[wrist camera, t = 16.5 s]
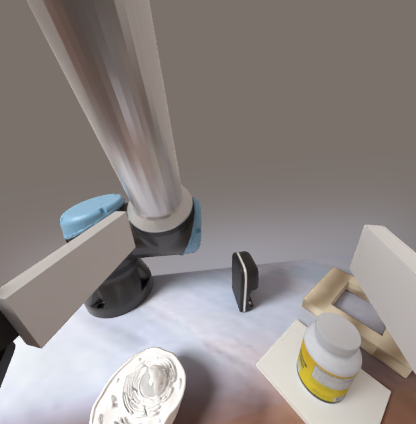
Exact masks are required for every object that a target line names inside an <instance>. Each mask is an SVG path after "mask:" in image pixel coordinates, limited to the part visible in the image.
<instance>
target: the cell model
mask: <svg viewBox="0 0 416 424" xmlns="http://www.w3.org/2000/svg"><path fill="white" fill-rule="evenodd" d="M185 387H186V373H185V370H184V367H183V366H182V364H181V362H180V361H179V359H178V358H177V357H176V355H175V354H173V353H172V352H169V351H166V350H163V349H161V348H159V347H151V348H148V349H146V350H144V351H142V352H140V353H138V354H135V355H134V356H132V357H131V358H130V359H128V360H127V361H126V362H125V363H124V364H123V365H122V366H121V367H120V368H119V369H118V370H117V371H116V372H115V373H114V374H113V375H112V377H111V378H110V379H109V381H108V382H107V384H106V385H105V387H104V389H103V390H102V392H101V394H100V395H99V397H98V399H97V400H96V402H95V403H94V405H93V408H92V411H91V416H90V423H89V424H172V423H173V421H174V419H175V417H176V415H177V413H178V410H179V407H180V404H181V400H182V398H183V395H184V391H185Z"/></svg>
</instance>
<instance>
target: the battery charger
mask: <svg viewBox="0 0 416 424" xmlns="http://www.w3.org/2000/svg"><path fill="white" fill-rule="evenodd" d="M257 288H258V268H257V266H256V264H255V262H254V261H253V259H252V257H251V255H250V254H249V253H248V252H246V251H245V252H236V253H233V256H232V289H233V292H234V295H235V298H236V301H237V304H238V307H239V310H240V312H245V311H249V310H251V309H252V308H253V303H252V301H251V298H250V296H249V294H250V293H251V292H252V290H256V289H257Z"/></svg>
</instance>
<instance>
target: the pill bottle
mask: <svg viewBox="0 0 416 424" xmlns="http://www.w3.org/2000/svg"><path fill="white" fill-rule="evenodd" d="M360 345H361V336H360V334H359V332H358V330H357V328H356V327H355V326H354V325H353V324H352V323H351V322H350V321H348V320H347V319H346V318H344V317H342V316H340V315H338V314H335V313H329V312H326V313H322V314H320V315H319V316H318V318H317V320H316V322H313V323H311V324H310V325H309V326H308V327H307V328H306V330H305V333H304V337H303V341H302V344H301V348H300V352H299V355H298V359H297V373H298V376H299V379H300V381H301V383H302V385H303V386H304V387H305V389H306V390H307V391H308V392H309V393H310V394H311V395H312V396H313V397H314V398H316V399H317V400H319V401H321V402H324V403H327V404H336V403H339V402H340V401H342V400H343V398H344V397H345V395H346V393H347V391H348V390H349V388H350V386H351V384H352V383H353V381H354V379H355V378H356V376H357V374H358V373H359V371H360V369H361V366H362V355H361V351H360V349H359V347H360Z"/></svg>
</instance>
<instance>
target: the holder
mask: <svg viewBox="0 0 416 424" xmlns="http://www.w3.org/2000/svg"><path fill="white" fill-rule="evenodd" d="M345 289H346V290H348V291H349V292H351V293H353V294H355V295H357V296H359V297H361V298H362V299H364V300H366V301H368V302H370V301H369V299H368V298H367V296H366V295H365V293H364V291H363V290H362V288H361V287H360V285H359V284H358V282H357V280H356V279H355V277H354V276H352V275H350V274H348V273H346V272H344V271H342V270H340V269H338V268H336V267H333V268H332V269H331V270H330V271H329V272H328V273H327V274H326V275H325V276H324V277H323V278H322V279H321V280H320V281H319V283H318V284H317V285H316V286H315V287H314V288H313V289H312V290H311V291H310V292H309V293H308V294H307V295H306V296H305V297H304V299H303V303H302V306H303V307H304V308H306V309H307V310H308V311H310V312H311V313H313V314H314V315H316V316H317V317H318V316H319V315H320V314H322V313H326V312H329V313H335V314H338V315H340V316H342V317H344V318H346V319H347V320H348V321H350V322H351V323H352V324H353V325H354V326H355V327H356V328H357V330H358V332H359V334H360V336H361V345H360V347H361V348H363V349H364V350H365V351H367V352H368V353H370V354H371V355H373V356H374V357H375V358H377V359H378V360H380V361H381V362H383V363H384V364H385V365H387V366H388V367H390V368H391V369H393V370H394V371H395V372H397V373H398V374H400V375H401V376H403V377H404V378H405V379H406V378H407V377H408V376H409V374H410V373H411V372H412V370H413V369H412V368H411V366H410V365H409V363H408V361H407V360H406V358H405V357H404V355H403V354H402V352H401V350H400V349H399V347H398V346H397V344H396V342H395V341H394V339H393V338H392V336H391V334H390V333H389V331H388V330H387V328H385V330H384V332H383V334H382V336H381V335H380V334H378V333H376V332H375V331H373V330H371V329H370V328H368V327H367V326H365V325H363V324H362V323H360V322H359V321H357V320H355V319H354V318H352V317H351V316H349V315H347V314H346V313H344V312H343V311H341V310H339V309H338V308H336V307H335V306H333V305H334V304H335V302H336V301H337V300H338V298H339V297H340V296H341V295H342V293H343V292H344V291H345Z"/></svg>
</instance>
